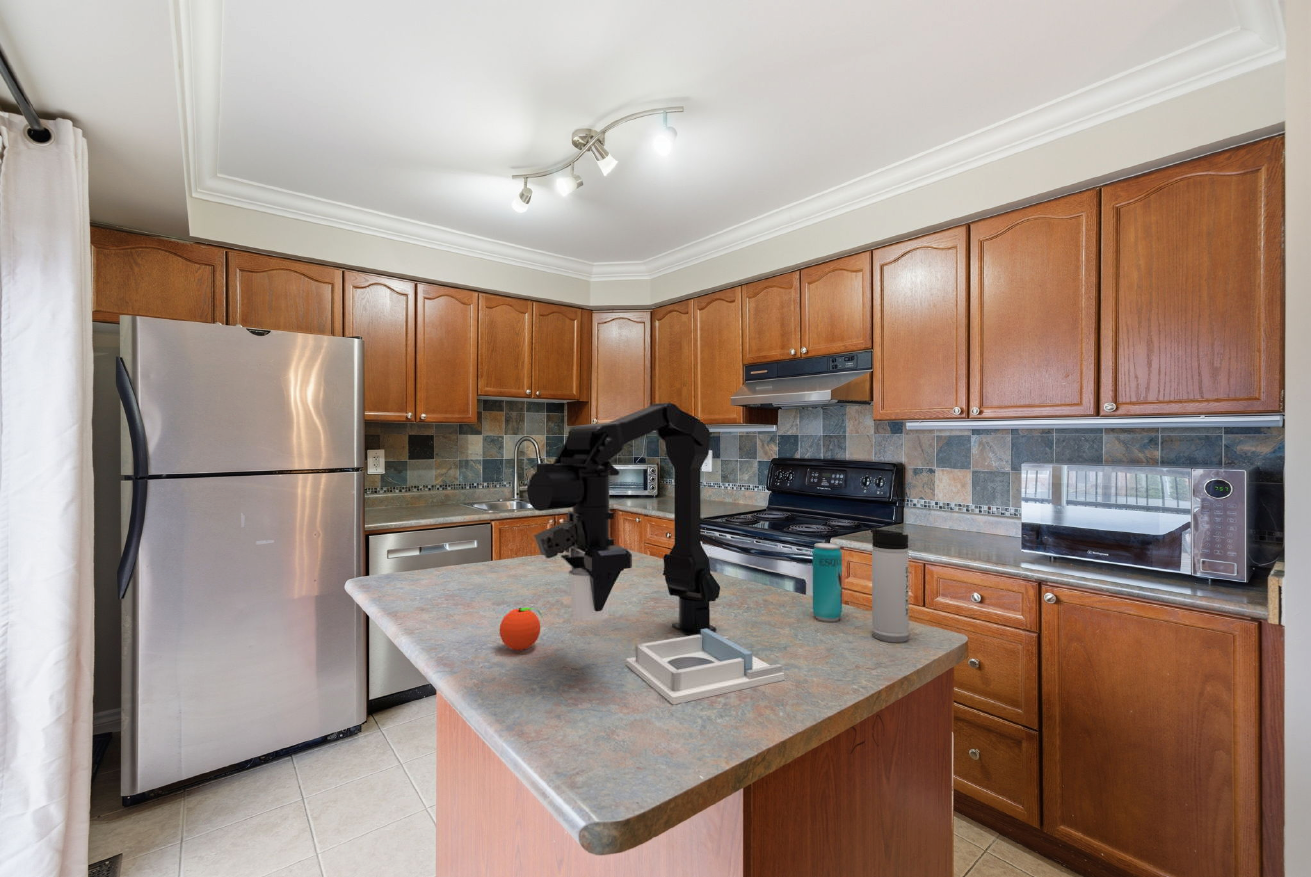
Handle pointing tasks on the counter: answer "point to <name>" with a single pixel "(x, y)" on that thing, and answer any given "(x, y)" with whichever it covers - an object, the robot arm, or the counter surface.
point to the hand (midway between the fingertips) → (590, 605)
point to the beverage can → (827, 582)
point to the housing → (695, 670)
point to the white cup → (584, 597)
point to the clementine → (520, 628)
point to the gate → (725, 649)
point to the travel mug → (890, 586)
